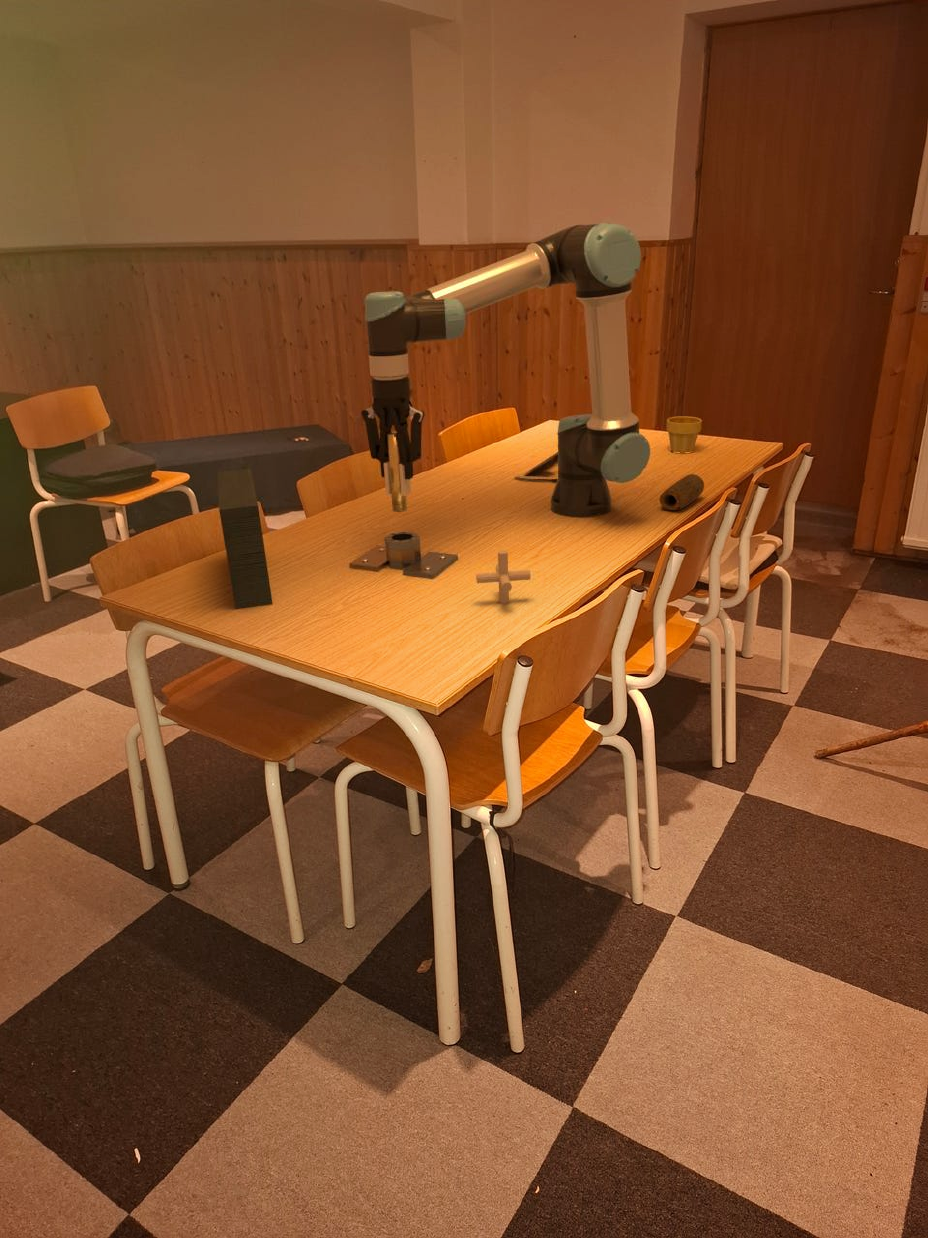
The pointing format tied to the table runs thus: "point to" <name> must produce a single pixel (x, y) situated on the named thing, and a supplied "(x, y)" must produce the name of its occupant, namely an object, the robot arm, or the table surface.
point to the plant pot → (683, 432)
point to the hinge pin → (395, 472)
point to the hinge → (404, 557)
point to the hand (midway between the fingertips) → (398, 493)
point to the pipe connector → (503, 576)
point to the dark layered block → (243, 539)
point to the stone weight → (682, 492)
